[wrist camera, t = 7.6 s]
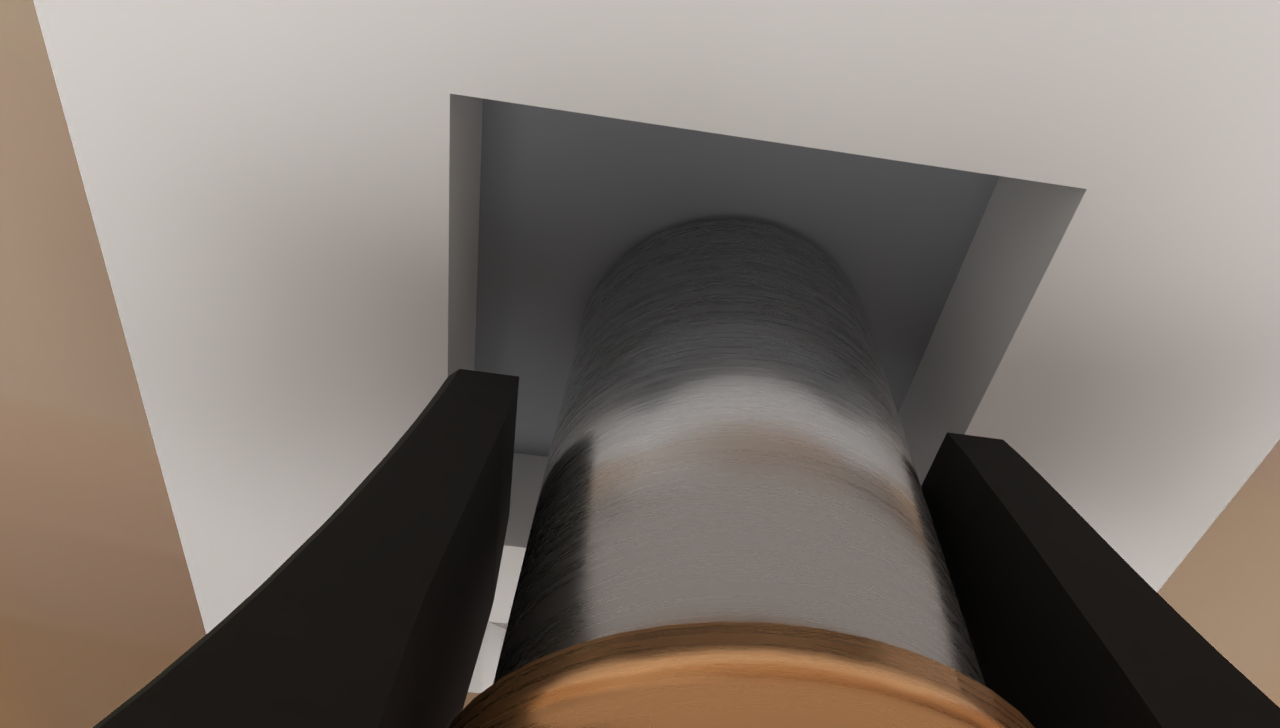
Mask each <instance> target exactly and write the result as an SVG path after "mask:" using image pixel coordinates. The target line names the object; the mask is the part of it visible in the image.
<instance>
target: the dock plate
mask: <svg viewBox="0 0 1280 728" xmlns="http://www.w3.org/2000/svg"><path fill="white" fill-rule="evenodd" d="M33 1H34V5H35V8H36V12H37V16H38V19H39V23H40V27H41V30H42V34H43V38H44V41H45V45H46V49H47V52H48V56H49V60H50V63H51V67H52V71H53V74H54V78H55V82H56V85H57V89H58V93H59V96H60V100H61V104H62V107H63V111H64V115H65V118H66V122H67V126H68V129H69V133H70V137H71V140H72V144H73V148H74V151H75V155H76V159H77V162H78V166H79V170H80V173H81V177H82V181H83V184H84V188H85V192H86V195H87V199H88V203H89V206H90V210H91V214H92V217H93V221H94V225H95V228H96V232H97V236H98V239H99V243H100V247H101V250H102V254H103V258H104V261H105V265H106V269H107V272H108V276H109V280H110V283H111V287H112V291H113V294H114V298H115V302H116V305H117V309H118V313H119V316H120V320H121V324H122V327H123V331H124V335H125V338H126V342H127V346H128V349H129V353H130V357H131V360H132V364H133V368H134V371H135V375H136V379H137V382H138V386H139V390H140V393H141V397H142V401H143V404H144V408H145V412H146V415H147V419H148V423H149V426H150V430H151V434H152V437H153V441H154V445H155V448H156V452H157V456H158V459H159V463H160V467H161V470H162V474H163V478H164V481H165V485H166V489H167V492H168V496H169V500H170V503H171V507H172V511H173V514H174V518H175V522H176V525H177V529H178V533H179V536H180V540H181V544H182V547H183V551H184V555H185V558H186V562H187V566H188V569H189V573H190V576H191V580H192V584H193V587H194V591H195V595H196V598H197V602H198V606H199V609H200V613H201V617H202V620H203V624H204V628H205V631H206V634H208V633H209V632H210V631H211V630H212V629H213V628H214V627H215V626H217V625H218V624H219V623H220V622H221V621H222V620H223V619H225V618H226V617H227V616H228V615H229V614H230V613H231V612H232V611H233V610H234V609H236V608H237V607H238V606H239V605H240V604H241V603H242V602H243V601H244V600H245V599H247V598H248V597H249V596H250V595H251V594H252V593H253V592H254V591H255V590H256V589H257V588H258V587H259V586H261V585H262V584H263V583H264V582H265V581H266V580H267V579H268V578H269V577H270V576H271V575H272V574H273V573H274V572H275V571H276V570H277V569H278V568H279V567H280V566H281V565H282V564H283V563H284V562H285V561H286V560H287V559H288V558H289V557H290V556H291V555H292V554H293V553H294V552H295V551H296V550H297V549H298V548H299V547H300V546H301V545H302V544H303V543H304V542H305V541H306V540H307V539H308V538H309V537H310V536H311V535H312V534H313V533H315V532H316V531H317V530H318V529H319V528H320V527H321V526H322V525H323V524H324V523H325V522H326V521H327V519H328V518H329V517H330V516H331V515H332V514H333V513H334V512H335V511H336V510H337V509H338V508H339V507H340V506H341V505H342V504H343V502H344V501H345V500H346V499H347V498H348V497H349V496H350V495H351V494H352V493H353V491H354V490H355V489H356V488H357V487H358V486H359V485H360V484H361V483H362V482H363V480H364V479H365V478H366V477H367V476H368V475H369V474H370V473H371V472H372V471H373V469H374V468H375V467H376V466H377V465H378V464H379V463H380V462H381V461H382V459H383V458H384V457H385V456H386V455H387V454H388V453H389V451H390V450H391V449H392V448H393V447H394V445H395V444H396V443H397V442H398V441H399V439H400V438H401V437H402V436H403V435H404V433H405V432H406V431H407V430H408V429H409V427H410V426H411V425H412V424H413V423H414V421H415V420H416V419H417V418H418V416H419V415H420V414H421V412H422V411H423V410H424V409H425V407H426V406H427V405H428V403H429V402H430V401H431V399H432V398H433V397H434V395H435V394H436V393H437V391H438V390H439V389H440V387H441V386H442V384H443V383H444V382H445V380H446V379H447V377H448V376H449V375H451V374H452V373H454V372H455V371H457V370H459V369H465V370H473V371H481V372H488V373H496V374H504V375H511V376H519V387H518V401H517V414H516V428H515V442H514V456H513V470H512V484H511V498H510V512H509V519H508V525H507V530H506V536H505V542H504V547H503V553H502V559H501V564H500V570H499V575H498V581H497V586H496V591H495V597H494V602H493V606H492V610H491V613H490V617H489V620H488V624H487V628H486V631H485V634H484V638H483V641H482V644H481V648H480V651H479V655H478V658H477V662H476V665H475V669H474V672H473V676H472V679H471V683H470V686H469V689H468V692H472V693H482V692H483V691H484V690H486V689H487V688H489V687H490V686H491V685H493V682H494V678H495V674H496V670H497V666H498V661H499V657H500V653H501V649H502V645H503V641H504V637H505V633H506V629H507V628H505V629H504V628H503V626H504V627H507V625H508V620H509V616H510V612H511V608H512V604H513V600H514V596H515V592H516V588H517V584H518V579H519V575H520V571H521V567H522V563H523V559H524V555H525V551H526V547H527V543H528V538H529V534H530V530H531V526H532V522H533V518H534V514H535V510H536V506H537V502H538V497H539V493H540V489H541V485H542V481H543V477H544V473H545V469H546V465H547V461H548V456H549V452H550V448H551V444H552V440H553V436H554V432H555V428H556V424H557V419H558V415H559V411H560V407H561V403H562V399H563V395H564V391H565V387H566V383H567V378H568V374H569V370H570V366H571V362H572V358H573V354H574V350H575V346H576V342H577V337H578V333H579V329H580V325H581V321H582V317H583V314H584V311H585V308H586V306H587V303H588V300H589V298H590V296H591V294H592V293H593V291H594V289H595V287H596V285H597V284H598V283H599V281H600V280H601V279H602V277H603V276H604V275H605V273H606V272H607V271H608V270H609V269H610V268H611V267H612V266H613V265H614V264H615V263H616V262H617V261H618V260H619V259H620V258H621V257H622V256H623V255H625V254H626V253H627V252H629V251H630V250H631V249H633V248H634V247H635V246H637V245H638V244H640V243H642V242H644V241H646V240H647V239H649V238H651V237H653V236H655V235H657V234H660V233H662V232H665V231H667V230H670V229H672V228H676V227H680V226H683V225H687V224H691V223H697V222H704V221H711V220H739V221H748V222H756V223H760V224H764V225H769V226H773V227H776V228H779V229H781V230H784V231H787V232H790V233H792V234H794V235H796V236H798V237H800V238H802V239H804V240H806V241H808V242H810V243H811V244H813V245H814V246H815V247H817V248H818V249H820V250H821V251H822V252H824V253H825V254H826V255H827V256H828V257H830V258H831V259H832V260H833V261H834V262H835V263H836V264H837V265H838V266H839V267H840V268H841V270H842V271H843V272H844V273H845V275H846V276H847V277H848V278H849V280H850V281H851V283H852V285H853V286H854V288H855V290H856V292H857V293H858V295H859V297H860V300H861V303H862V305H863V308H864V311H865V314H866V317H867V320H868V323H869V326H870V329H871V332H872V335H873V338H874V341H875V345H876V348H877V351H878V354H879V357H880V360H881V363H882V366H883V369H884V372H885V376H886V379H887V382H888V385H889V388H890V391H891V394H892V397H893V400H894V403H895V407H896V410H897V413H898V416H899V419H900V422H901V425H902V428H903V431H904V434H905V438H906V441H907V444H908V447H909V450H910V453H911V456H912V459H913V462H914V465H915V469H916V472H917V475H918V478H919V481H920V484H921V486H922V484H923V481H924V479H925V477H926V475H927V473H928V471H929V469H930V467H931V465H932V463H933V461H934V459H935V457H936V454H937V452H938V450H939V448H940V446H941V444H942V442H943V440H944V438H945V436H946V434H947V432H949V433H956V434H964V435H972V436H979V437H987V438H995V439H1002V440H1004V441H1005V442H1007V443H1008V444H1009V445H1010V446H1011V447H1012V448H1013V449H1014V450H1015V451H1016V452H1017V453H1019V454H1020V455H1021V456H1022V457H1023V458H1024V459H1025V460H1026V461H1027V462H1028V463H1029V464H1030V465H1031V466H1032V467H1033V468H1034V469H1035V470H1036V471H1037V472H1038V473H1039V474H1040V475H1041V476H1042V477H1043V478H1044V479H1045V480H1046V481H1047V482H1048V483H1049V484H1050V485H1051V486H1052V487H1053V488H1054V489H1055V490H1056V491H1057V492H1058V493H1059V494H1060V495H1061V496H1062V497H1063V498H1064V499H1065V500H1066V501H1067V502H1068V503H1069V504H1070V505H1071V506H1072V507H1073V508H1074V509H1075V510H1076V511H1077V512H1078V513H1079V514H1080V515H1081V516H1082V517H1083V518H1084V519H1085V520H1086V522H1087V523H1088V524H1089V525H1090V526H1091V527H1092V528H1093V529H1094V530H1095V531H1096V532H1097V533H1098V534H1099V535H1100V536H1101V537H1102V538H1103V539H1104V540H1105V541H1106V542H1107V543H1108V544H1109V545H1110V546H1111V547H1112V548H1113V549H1114V550H1115V551H1116V552H1117V553H1118V554H1119V555H1120V556H1121V557H1122V558H1123V559H1124V560H1125V561H1126V562H1127V563H1128V564H1129V565H1130V566H1131V567H1132V568H1133V569H1134V570H1135V571H1136V572H1137V573H1138V574H1139V575H1140V576H1141V577H1142V578H1143V579H1144V580H1145V581H1146V582H1147V583H1148V584H1149V585H1150V586H1151V587H1152V588H1153V589H1154V590H1155V591H1156V592H1158V591H1159V589H1160V588H1161V587H1162V586H1163V584H1164V583H1165V582H1166V581H1167V579H1168V578H1169V577H1170V576H1171V574H1172V573H1173V572H1174V571H1175V569H1176V568H1177V567H1178V566H1179V564H1180V563H1181V562H1182V561H1183V559H1184V558H1185V557H1186V556H1187V554H1188V553H1189V552H1190V551H1191V549H1192V548H1193V547H1194V546H1195V545H1196V543H1197V542H1198V541H1199V540H1200V538H1201V537H1202V536H1203V535H1204V533H1205V532H1206V531H1207V530H1208V528H1209V527H1210V526H1211V525H1212V523H1213V522H1214V521H1215V520H1216V518H1217V517H1218V516H1219V515H1220V513H1221V512H1222V511H1223V510H1224V508H1225V507H1226V506H1227V505H1228V503H1229V502H1230V501H1231V500H1232V498H1233V497H1234V496H1235V495H1236V493H1237V492H1238V491H1239V490H1240V488H1241V487H1242V486H1243V485H1244V483H1245V482H1246V481H1247V480H1248V478H1249V477H1250V476H1251V475H1252V473H1253V472H1254V471H1255V470H1256V468H1257V467H1258V466H1259V465H1260V463H1261V462H1262V461H1263V460H1264V458H1265V457H1266V456H1267V455H1268V453H1269V452H1270V451H1271V450H1272V448H1273V447H1274V446H1275V445H1276V443H1277V442H1278V441H1279V440H1280V0H33ZM491 622H492V623H491ZM493 622H494V623H493ZM495 622H496V624H495ZM501 623H502V625H503V624H504V625H503V626H502V627H501ZM497 624H498V625H499V626H498V625H497ZM505 624H507V625H505ZM489 626H490V627H489ZM500 630H501V631H500ZM494 631H495V632H494ZM499 637H500V638H499ZM478 660H479V661H478ZM479 666H480V667H479ZM478 667H479V668H478Z"/></svg>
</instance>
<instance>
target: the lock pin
mask: <svg viewBox="0 0 1280 728" xmlns="http://www.w3.org/2000/svg"><path fill="white" fill-rule="evenodd" d="M448 728H1035V727H1034V726H1033V725H1032V724H1031V723H1030V722H1029V721H1028V720H1027V719H1026V718H1025V717H1024V716H1023V715H1022V714H1021V712H1020V711H1018V710H1017V709H1016V708H1014V707H1013V706H1012V705H1010V704H1009V703H1008V702H1007V701H1005V700H1004V699H1003V698H1001V697H1000V696H999V695H997V694H996V693H995V692H993V691H992V690H991V689H989V688H988V687H986V686H985V682H984V679H983V676H982V673H981V670H980V667H979V664H978V661H977V658H976V655H975V651H974V648H973V645H972V642H971V639H970V636H969V633H968V630H967V627H966V624H965V620H964V617H963V614H962V611H961V608H960V605H959V602H958V599H957V596H956V593H955V589H954V586H953V583H952V580H951V577H950V574H949V571H948V568H947V565H946V562H945V558H944V555H943V552H942V549H941V546H940V543H939V540H938V537H937V534H936V531H935V527H934V524H933V521H932V518H931V515H930V512H929V509H928V506H927V503H926V500H925V496H924V493H923V490H922V487H921V484H920V481H919V478H918V475H917V472H916V469H915V465H914V462H913V459H912V456H911V453H910V450H909V447H908V444H907V441H906V438H905V434H904V431H903V428H902V425H901V422H900V419H899V416H898V413H897V410H896V407H895V403H894V400H893V397H892V394H891V391H890V388H889V385H888V382H887V379H886V376H885V372H884V369H883V366H882V363H881V360H880V357H879V354H878V351H877V348H876V345H875V341H874V338H873V335H872V332H871V329H870V326H869V323H868V320H867V317H866V314H865V311H864V308H863V305H862V303H861V300H860V297H859V295H858V293H857V292H856V290H855V288H854V286H853V285H852V283H851V281H850V280H849V278H848V277H847V276H846V275H845V273H844V272H843V271H842V270H841V268H840V267H839V266H838V265H837V264H836V263H835V262H834V261H833V260H832V259H831V258H830V257H828V256H827V255H826V254H825V253H824V252H822V251H821V250H820V249H818V248H817V247H815V246H814V245H813V244H811V243H810V242H808V241H806V240H804V239H802V238H800V237H798V236H796V235H794V234H792V233H790V232H787V231H784V230H781V229H779V228H776V227H773V226H769V225H764V224H760V223H756V222H748V221H739V220H711V221H704V222H697V223H691V224H687V225H683V226H680V227H676V228H672V229H670V230H667V231H665V232H662V233H660V234H657V235H655V236H653V237H651V238H649V239H647V240H646V241H644V242H642V243H640V244H638V245H637V246H635V247H634V248H633V249H631V250H630V251H629V252H627V253H626V254H625V255H623V256H622V257H621V258H620V259H619V260H618V261H617V262H616V263H615V264H614V265H613V266H612V267H611V268H610V269H609V270H608V271H607V272H606V273H605V275H604V276H603V277H602V279H601V280H600V281H599V283H598V284H597V285H596V287H595V289H594V291H593V293H592V294H591V296H590V298H589V300H588V303H587V306H586V308H585V311H584V314H583V317H582V321H581V325H580V329H579V333H578V337H577V342H576V346H575V350H574V354H573V358H572V362H571V366H570V370H569V374H568V378H567V383H566V387H565V391H564V395H563V399H562V403H561V407H560V411H559V415H558V419H557V424H556V428H555V432H554V436H553V440H552V444H551V448H550V452H549V456H548V461H547V465H546V469H545V473H544V477H543V481H542V485H541V489H540V493H539V497H538V502H537V506H536V510H535V514H534V518H533V522H532V526H531V530H530V534H529V538H528V543H527V547H526V551H525V555H524V559H523V563H522V567H521V571H520V575H519V579H518V584H517V588H516V592H515V596H514V600H513V604H512V608H511V612H510V616H509V620H508V625H507V629H506V633H505V637H504V641H503V645H502V649H501V653H500V657H499V661H498V666H497V670H496V674H495V678H494V682H493V685H491V686H490V687H489V688H487V689H486V690H484V691H483V692H482V693H480V694H479V695H478V696H476V697H475V698H474V699H473V700H472V701H471V702H470V703H469V704H468V705H467V706H466V707H465V708H464V709H463V710H462V711H461V712H460V713H459V714H458V715H457V716H456V717H455V718H454V719H453V721H452V722H451V724H450V725H449V727H448Z"/></svg>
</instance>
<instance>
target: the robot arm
mask: <svg viewBox="0 0 1280 728" xmlns="http://www.w3.org/2000/svg"><path fill="white" fill-rule="evenodd" d="M518 387H519V376H511V375H504V374H496V373H488V372H481V371H473V370H465V369H459V370H457V371H455V372H454V373H452V374H451V375H449V376H448V377H447V379H446V380H445V382H444V383H443V384H442V386H441V387H440V389H439V390H438V391H437V393H436V394H435V395H434V397H433V398H432V399H431V401H430V402H429V403H428V405H427V406H426V407H425V409H424V410H423V411H422V412H421V414H420V415H419V416H418V418H417V419H416V420H415V421H414V423H413V424H412V425H411V426H410V427H409V429H408V430H407V431H406V432H405V433H404V435H403V436H402V437H401V438H400V439H399V441H398V442H397V443H396V444H395V445H394V447H393V448H392V449H391V450H390V451H389V453H388V454H387V455H386V456H385V457H384V458H383V459H382V461H381V462H380V463H379V464H378V465H377V466H376V467H375V468H374V469H373V471H372V472H371V473H370V474H369V475H368V476H367V477H366V478H365V479H364V480H363V482H362V483H361V484H360V485H359V486H358V487H357V488H356V489H355V490H354V491H353V493H352V494H351V495H350V496H349V497H348V498H347V499H346V500H345V501H344V502H343V504H342V505H341V506H340V507H339V508H338V509H337V510H336V511H335V512H334V513H333V514H332V515H331V516H330V517H329V518H328V519H327V521H326V522H325V523H324V524H323V525H322V526H321V527H320V528H319V529H318V530H317V531H316V532H315V533H313V534H312V535H311V536H310V537H309V538H308V539H307V540H306V541H305V542H304V543H303V544H302V545H301V546H300V547H299V548H298V549H297V550H296V551H295V552H294V553H293V554H292V555H291V556H290V557H289V558H288V559H287V560H286V561H285V562H284V563H283V564H282V565H281V566H280V567H279V568H278V569H277V570H276V571H275V572H274V573H273V574H272V575H271V576H270V577H269V578H268V579H267V580H266V581H265V582H264V583H263V584H262V585H261V586H259V587H258V588H257V589H256V590H255V591H254V592H253V593H252V594H251V595H250V596H249V597H248V598H247V599H245V600H244V601H243V602H242V603H241V604H240V605H239V606H238V607H237V608H236V609H234V610H233V611H232V612H231V613H230V614H229V615H228V616H227V617H226V618H225V619H223V620H222V621H221V622H220V623H219V624H218V625H217V626H215V627H214V628H213V629H212V630H211V631H210V632H209V633H208V634H206V635H205V636H204V637H203V638H202V639H201V640H199V641H198V642H197V643H196V644H195V645H194V646H192V647H191V648H190V649H189V650H188V651H187V652H185V653H184V654H183V655H182V656H181V657H179V658H178V659H177V660H176V661H175V662H174V663H172V664H171V665H170V666H169V667H168V668H166V669H165V670H164V671H163V672H162V673H161V674H159V675H158V676H157V677H156V678H155V679H153V680H152V681H151V682H150V683H148V684H147V685H146V686H145V687H144V688H142V689H141V690H140V691H139V692H137V693H136V694H135V695H133V696H132V697H131V698H130V699H128V700H127V701H126V702H125V703H123V704H122V705H121V706H120V707H118V708H117V709H116V710H114V711H113V712H112V713H111V714H109V715H108V716H107V717H106V718H104V719H103V720H102V721H100V722H99V723H98V724H97V725H95V726H94V727H93V728H448V727H449V725H450V724H451V722H452V721H453V719H454V718H455V717H456V716H457V715H458V714H459V713H460V712H461V711H462V710H463V707H464V703H465V700H466V696H467V693H468V689H469V686H470V683H471V679H472V676H473V672H474V669H475V665H476V662H477V658H478V655H479V651H480V648H481V644H482V641H483V638H484V634H485V631H486V627H487V624H488V620H489V617H490V613H491V610H492V606H493V602H494V597H495V591H496V586H497V581H498V575H499V570H500V564H501V559H502V553H503V547H504V542H505V536H506V530H507V525H508V519H509V512H510V498H511V484H512V470H513V456H514V442H515V428H516V414H517V401H518ZM921 487H922V490H923V493H924V496H925V500H926V503H927V506H928V509H929V512H930V515H931V518H932V521H933V524H934V527H935V531H936V534H937V537H938V540H939V543H940V546H941V549H942V552H943V555H944V558H945V562H946V565H947V568H948V571H949V574H950V577H951V580H952V583H953V586H954V589H955V593H956V596H957V599H958V602H959V605H960V608H961V611H962V614H963V617H964V620H965V624H966V627H967V630H968V633H969V636H970V639H971V642H972V645H973V648H974V651H975V655H976V658H977V661H978V664H979V667H980V670H981V673H982V676H983V679H984V682H985V686H986V687H988V688H989V689H991V690H992V691H993V692H995V693H996V694H997V695H999V696H1000V697H1001V698H1003V699H1004V700H1005V701H1007V702H1008V703H1009V704H1010V705H1012V706H1013V707H1014V708H1016V709H1017V710H1018V711H1020V712H1021V714H1022V715H1023V716H1024V717H1025V718H1026V719H1027V720H1028V721H1029V722H1030V723H1031V724H1032V725H1033V726H1034V727H1035V728H1280V708H1279V707H1278V706H1277V705H1276V704H1275V703H1274V702H1272V701H1271V700H1270V699H1269V698H1268V697H1267V696H1266V695H1265V694H1264V693H1263V692H1262V691H1260V690H1259V689H1258V688H1257V687H1256V686H1255V685H1254V684H1253V683H1252V682H1251V681H1250V680H1248V679H1247V678H1246V677H1245V676H1244V675H1243V674H1242V673H1241V672H1240V671H1239V670H1237V669H1236V668H1235V667H1234V666H1233V665H1232V664H1231V663H1230V662H1229V661H1228V660H1227V659H1225V658H1224V657H1223V656H1222V655H1221V654H1220V653H1219V652H1218V651H1217V650H1216V649H1215V648H1214V647H1213V646H1212V645H1211V644H1209V643H1208V642H1207V641H1206V640H1205V639H1204V638H1203V637H1202V636H1201V635H1200V634H1199V633H1198V632H1197V631H1196V630H1195V629H1194V628H1193V627H1192V626H1191V625H1190V624H1189V623H1187V622H1186V621H1185V620H1184V619H1183V618H1182V617H1181V616H1180V615H1179V614H1178V613H1177V612H1176V611H1175V610H1174V609H1173V608H1172V607H1171V606H1170V605H1169V604H1168V603H1167V602H1166V601H1165V600H1164V599H1163V598H1162V597H1161V596H1160V595H1159V594H1158V593H1157V592H1156V591H1155V590H1154V589H1153V588H1152V587H1151V586H1150V585H1149V584H1148V583H1147V582H1146V581H1145V580H1144V579H1143V578H1142V577H1141V576H1140V575H1139V574H1138V573H1137V572H1136V571H1135V570H1134V569H1133V568H1132V567H1131V566H1130V565H1129V564H1128V563H1127V562H1126V561H1125V560H1124V559H1123V558H1122V557H1121V556H1120V555H1119V554H1118V553H1117V552H1116V551H1115V550H1114V549H1113V548H1112V547H1111V546H1110V545H1109V544H1108V543H1107V542H1106V541H1105V540H1104V539H1103V538H1102V537H1101V536H1100V535H1099V534H1098V533H1097V532H1096V531H1095V530H1094V529H1093V528H1092V527H1091V526H1090V525H1089V524H1088V523H1087V522H1086V520H1085V519H1084V518H1083V517H1082V516H1081V515H1080V514H1079V513H1078V512H1077V511H1076V510H1075V509H1074V508H1073V507H1072V506H1071V505H1070V504H1069V503H1068V502H1067V501H1066V500H1065V499H1064V498H1063V497H1062V496H1061V495H1060V494H1059V493H1058V492H1057V491H1056V490H1055V489H1054V488H1053V487H1052V486H1051V485H1050V484H1049V483H1048V482H1047V481H1046V480H1045V479H1044V478H1043V477H1042V476H1041V475H1040V474H1039V473H1038V472H1037V471H1036V470H1035V469H1034V468H1033V467H1032V466H1031V465H1030V464H1029V463H1028V462H1027V461H1026V460H1025V459H1024V458H1023V457H1022V456H1021V455H1020V454H1019V453H1017V452H1016V451H1015V450H1014V449H1013V448H1012V447H1011V446H1010V445H1009V444H1008V443H1007V442H1005V441H1004V440H1002V439H995V438H987V437H979V436H972V435H964V434H956V433H949V432H947V434H946V436H945V438H944V440H943V442H942V444H941V446H940V448H939V450H938V452H937V454H936V457H935V459H934V461H933V463H932V465H931V467H930V469H929V471H928V473H927V475H926V477H925V479H924V481H923V484H922V486H921Z"/></svg>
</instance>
